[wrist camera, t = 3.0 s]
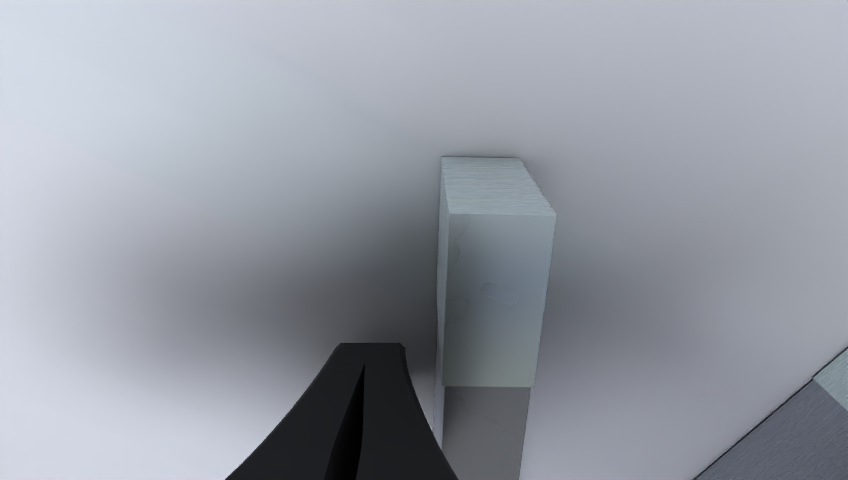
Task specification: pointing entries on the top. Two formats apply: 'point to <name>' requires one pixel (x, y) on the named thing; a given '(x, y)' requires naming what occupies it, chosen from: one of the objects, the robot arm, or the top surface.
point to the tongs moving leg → (488, 311)
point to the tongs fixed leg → (797, 436)
